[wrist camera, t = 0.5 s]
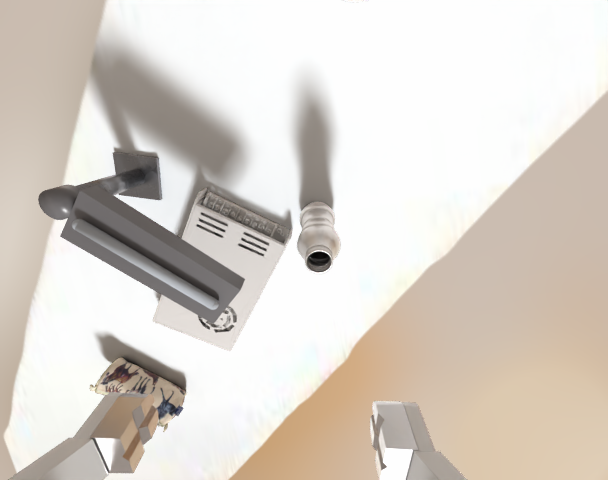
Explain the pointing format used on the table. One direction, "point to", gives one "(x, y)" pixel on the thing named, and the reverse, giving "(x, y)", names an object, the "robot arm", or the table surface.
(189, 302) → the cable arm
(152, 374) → the pencil case
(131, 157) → the post
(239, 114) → the table surface
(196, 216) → the power supply unit
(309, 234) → the plastic bottle
